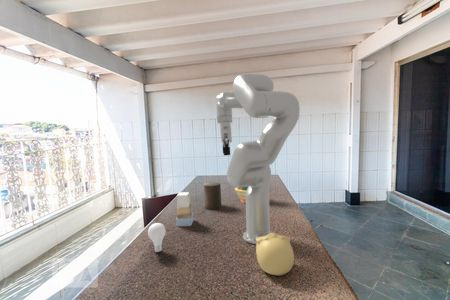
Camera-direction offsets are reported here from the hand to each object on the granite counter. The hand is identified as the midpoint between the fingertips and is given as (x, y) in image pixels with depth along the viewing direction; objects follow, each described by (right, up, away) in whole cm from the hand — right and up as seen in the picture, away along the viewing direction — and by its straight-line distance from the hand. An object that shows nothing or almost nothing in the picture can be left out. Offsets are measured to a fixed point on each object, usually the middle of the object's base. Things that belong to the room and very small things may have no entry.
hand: (226, 154), depth 117 cm
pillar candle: (-8, -31, +17) cm, 37 cm away
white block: (-21, -25, -5) cm, 33 cm away
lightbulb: (-26, -37, -30) cm, 54 cm away
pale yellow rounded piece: (+15, -36, -43) cm, 58 cm away
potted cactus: (+13, -29, +26) cm, 41 cm away
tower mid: (-20, -30, -5) cm, 37 cm away
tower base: (-20, -34, -4) cm, 40 cm away
